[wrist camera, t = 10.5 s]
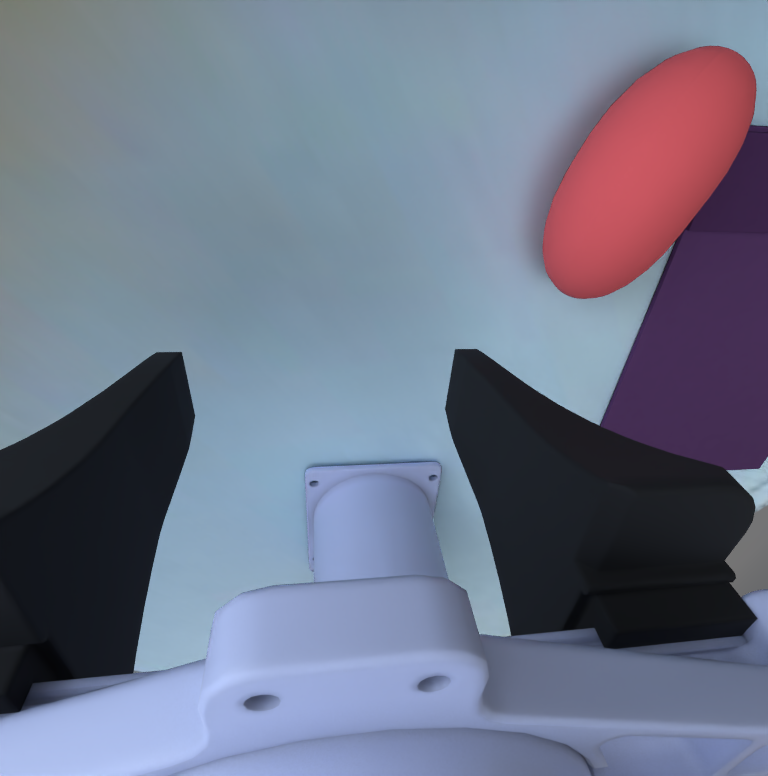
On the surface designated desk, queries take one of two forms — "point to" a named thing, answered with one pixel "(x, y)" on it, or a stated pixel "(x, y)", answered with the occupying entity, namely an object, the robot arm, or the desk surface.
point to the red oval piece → (647, 170)
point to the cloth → (708, 331)
